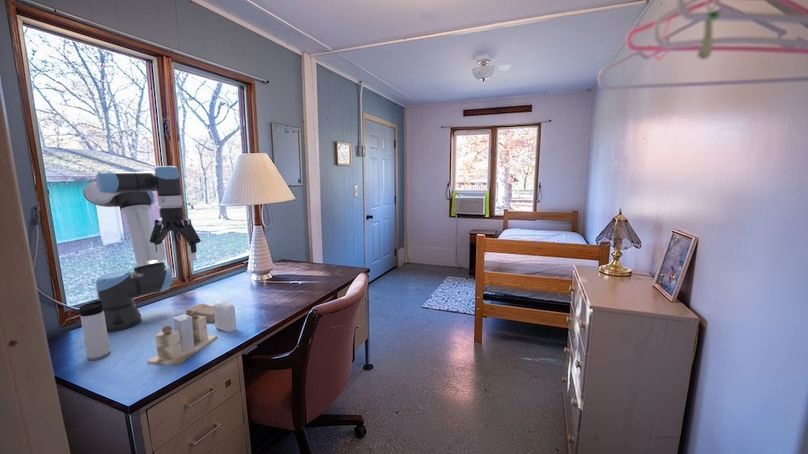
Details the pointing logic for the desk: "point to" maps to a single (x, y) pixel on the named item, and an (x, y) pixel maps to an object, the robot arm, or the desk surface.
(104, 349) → the travel mug
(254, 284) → the desk surface
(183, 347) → the skincare box
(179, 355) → the posts
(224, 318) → the photo printer
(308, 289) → the desk surface
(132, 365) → the desk surface
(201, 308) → the brick
